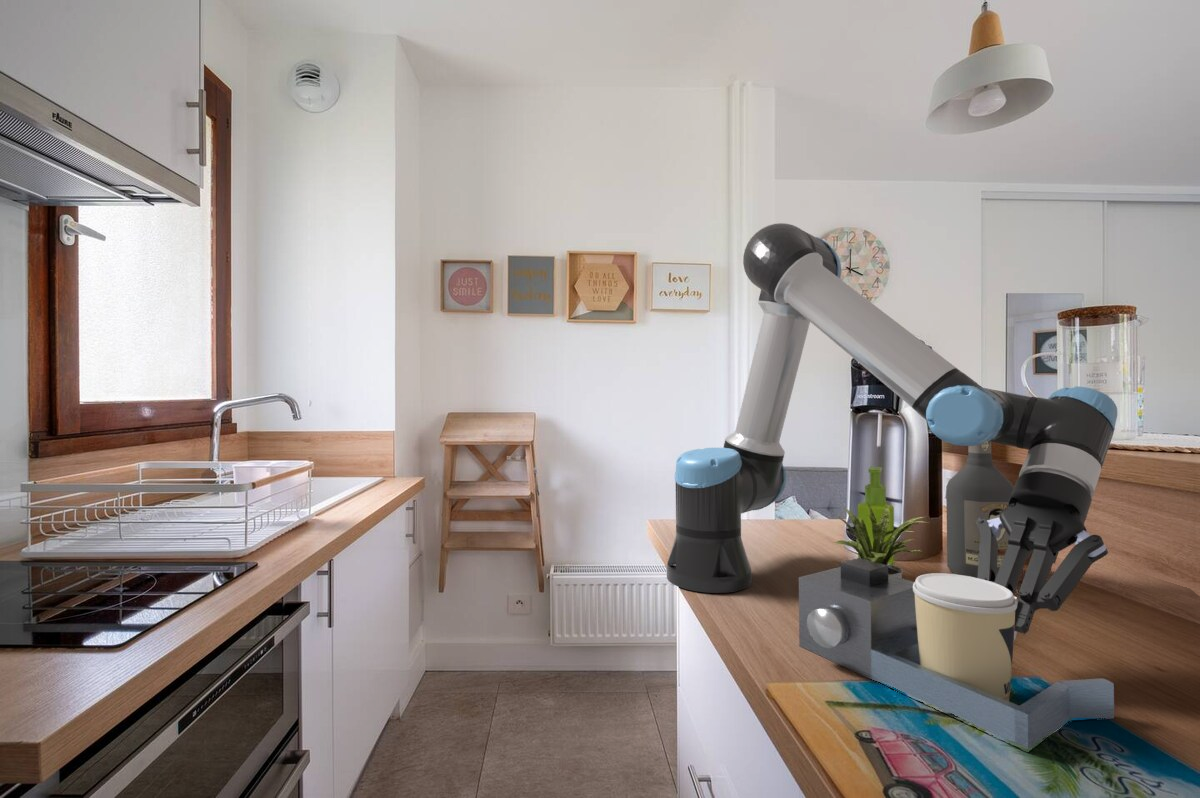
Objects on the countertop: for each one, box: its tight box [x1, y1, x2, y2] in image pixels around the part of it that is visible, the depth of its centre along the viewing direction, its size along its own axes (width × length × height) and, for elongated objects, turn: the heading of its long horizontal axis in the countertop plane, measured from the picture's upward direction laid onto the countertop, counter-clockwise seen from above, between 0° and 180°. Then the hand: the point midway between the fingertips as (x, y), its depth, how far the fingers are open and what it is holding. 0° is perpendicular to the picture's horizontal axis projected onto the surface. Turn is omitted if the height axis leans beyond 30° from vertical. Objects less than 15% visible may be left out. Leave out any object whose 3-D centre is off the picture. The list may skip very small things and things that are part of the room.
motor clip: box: [798, 557, 1115, 749], centre depth 61 cm, size 16×27×11 cm, turn 31°
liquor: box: [945, 441, 1015, 578], centre depth 98 cm, size 9×9×30 cm
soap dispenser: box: [857, 466, 895, 566], centre depth 98 cm, size 6×7×20 cm
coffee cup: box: [913, 572, 1017, 702], centre depth 57 cm, size 9×9×12 cm
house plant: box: [834, 502, 930, 579], centre depth 81 cm, size 14×14×16 cm
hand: (995, 651), depth 59 cm, fingers closed
